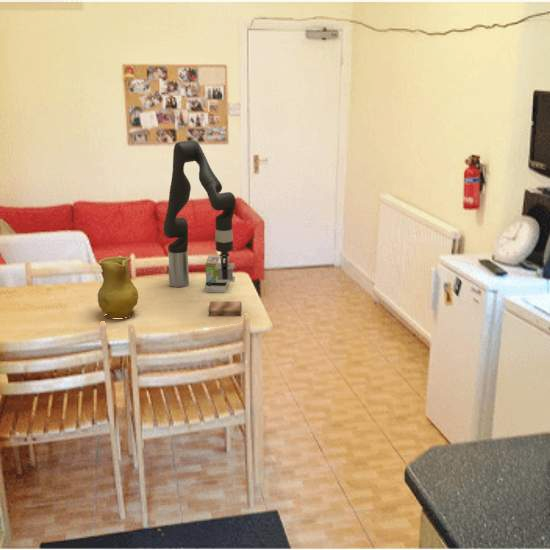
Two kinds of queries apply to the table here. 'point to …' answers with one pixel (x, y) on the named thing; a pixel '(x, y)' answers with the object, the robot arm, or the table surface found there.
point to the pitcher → (117, 288)
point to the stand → (225, 308)
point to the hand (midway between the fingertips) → (225, 277)
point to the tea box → (214, 276)
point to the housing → (229, 272)
